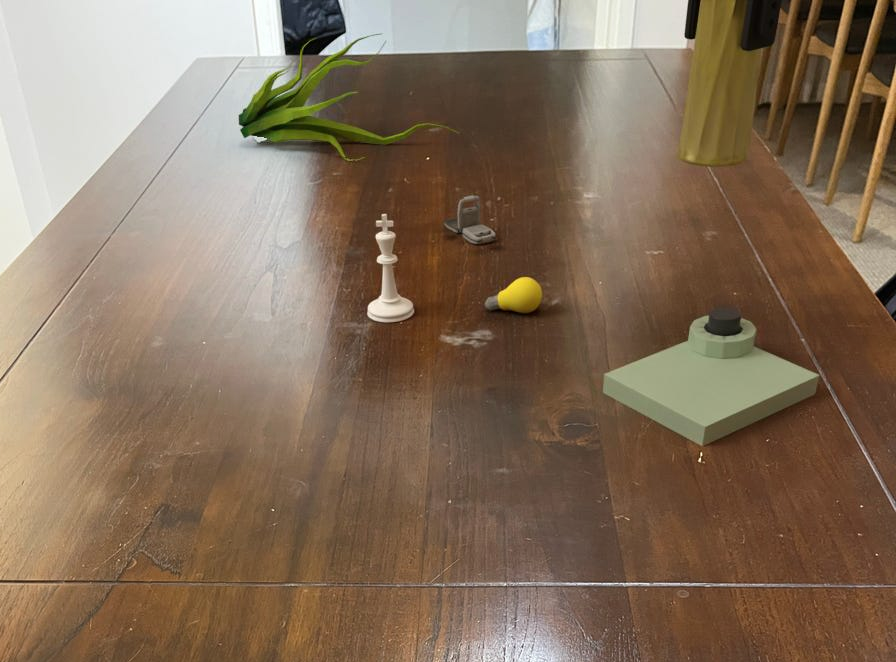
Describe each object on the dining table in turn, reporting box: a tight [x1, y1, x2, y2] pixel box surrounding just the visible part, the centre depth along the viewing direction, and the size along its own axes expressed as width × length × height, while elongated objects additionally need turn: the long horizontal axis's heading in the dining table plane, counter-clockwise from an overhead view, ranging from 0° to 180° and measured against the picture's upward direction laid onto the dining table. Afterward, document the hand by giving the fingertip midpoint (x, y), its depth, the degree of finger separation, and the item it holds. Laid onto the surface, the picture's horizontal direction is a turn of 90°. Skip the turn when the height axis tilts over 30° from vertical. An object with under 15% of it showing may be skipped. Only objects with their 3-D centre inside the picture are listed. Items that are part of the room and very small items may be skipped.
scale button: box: [707, 306, 743, 336], centre depth 91 cm, size 3×3×2 cm
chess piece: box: [366, 213, 415, 323], centre depth 102 cm, size 5×5×10 cm
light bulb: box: [484, 276, 543, 314], centre depth 104 cm, size 3×6×4 cm, turn 84°
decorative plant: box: [238, 33, 460, 162], centre depth 146 cm, size 18×30×15 cm, turn 49°
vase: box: [676, 0, 763, 168], centre depth 82 cm, size 6×6×14 cm
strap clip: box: [443, 194, 497, 245], centre depth 120 cm, size 8×3×4 cm, turn 27°
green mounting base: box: [602, 315, 820, 447], centre depth 88 cm, size 15×12×4 cm
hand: (728, 39), depth 81 cm, fingers closed on vase, 5 cm apart
